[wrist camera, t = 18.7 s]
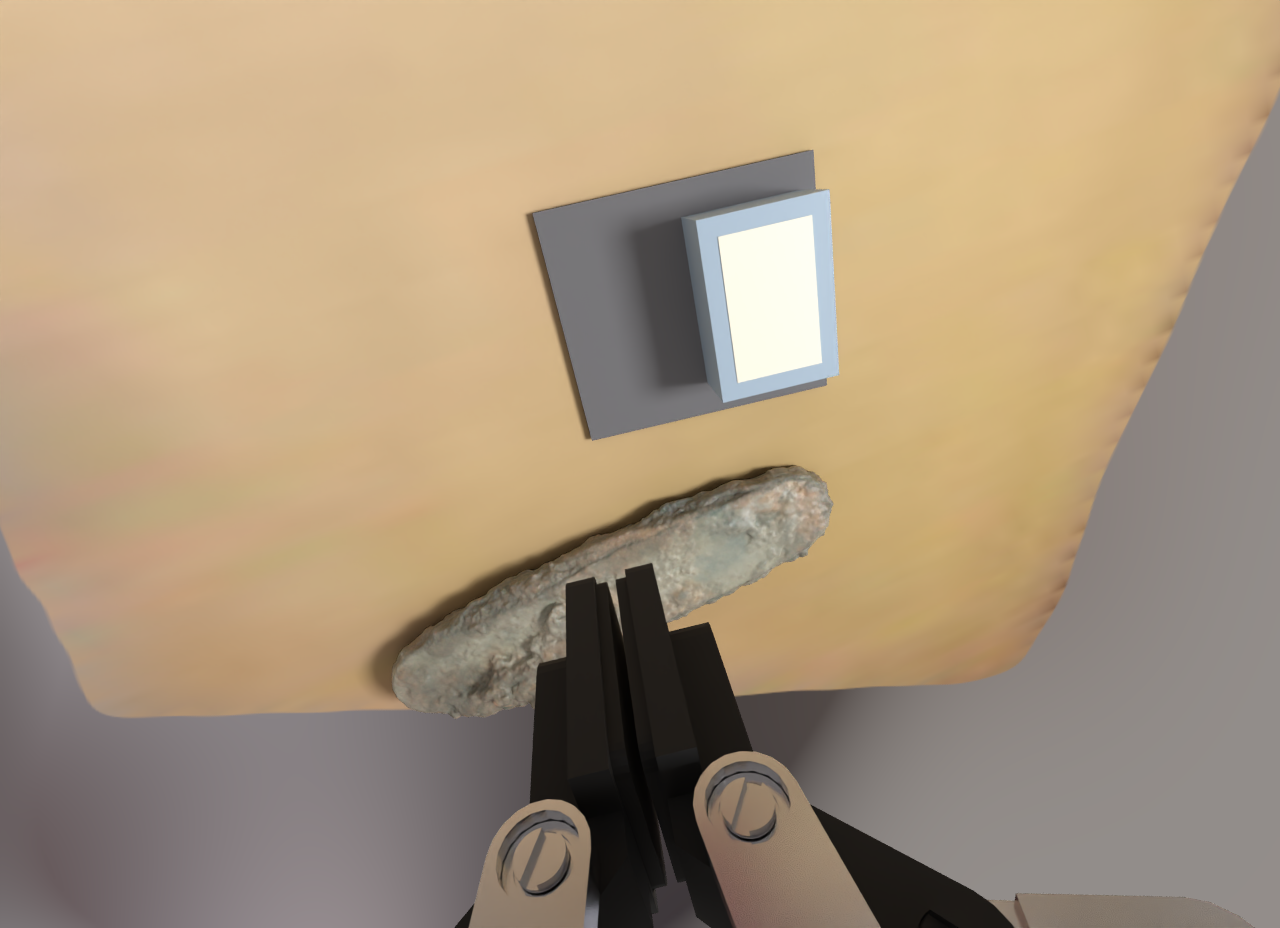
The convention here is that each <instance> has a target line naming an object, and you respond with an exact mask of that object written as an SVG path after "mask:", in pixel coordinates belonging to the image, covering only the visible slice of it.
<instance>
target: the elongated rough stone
mask: <svg viewBox="0 0 1280 928" xmlns="http://www.w3.org/2000/svg"><path fill="white" fill-rule="evenodd" d="M832 506H833V502H832V500H831V499H830V497H829V496H828V489H827V484H826V482H824V481H822V480H821V478H820V477H819V476H818V475H817V474H815V473H814V472H808V471H806V470H805V469H804V468H802V467H799V466H796V465H793V466H790V467H788V468H785V467H784V468H783V467H780V468H773V469H771V470H768V471H767V472H766V473H764V474H762V475H760V476H757V477H755V478H751V479H746V480H733V481H730V482H728V483H726V484H723V485H721V486H719V487H718V488H715V489H714V490H712V491H702V492H700V493H698V494H696V495H695V496H692V497H688V498H683V499H680V500H676V501H671V502H669V503H665V504H664V505H662V506H660V508H659V509H657V510H653V511H652V512H651V513H650V514H649V515H648V516H647V517H646V518H642V519H641V521H639V522H637V523H635V524H634V525H632V524H629V525H627V526H626V527H624V528H621V529H619V530H617V531H615V532H613V533H609V534H603V535H601V534H598V535H596V536H592V537H589V538H588V539H587V540H586V541H585V542H584V543H583V544H582V545H581V546H579V547H577V548H575V549H573V550H572V551H570V552H569V553H566V554H562V555H561V556H560V557H559V558H557V559H555V560H554V561H550V562H548V563H544V564H543V565H541V567H540V568H538V569H536V570H529V569H528V570H525V571H523V572H520V573H519V574H518V575H517V576H513V577H509V578H506V579H505V580H503V582H501V583H500V584H498V585H496V586H495V587H493V588H491V589H490V590H488V592H487V594H486V595H484V596H482V597H480V598H478V599H475V600H472V601H471V602H469V603H468V604H467V606H466V607H464V608H462V609H457V610H455V611H453V612H452V613H451V614H449V615H446V616H445V617H444V620H442V621H440V622H439V623H437V624H436V625H435V626H429V627H428V628H426V629H425V630H424V632H422V634H420V635H419V636H418V637H417V638H416V639H415V640H414V641H413V642H411V643H410V644H409V645H407V646H405V647H404V648H403V649H402V650H401V652H400V653H399V655H398V658H397V661H396V662H395V663H394V665H393V668H392V688H393V691H394V693H395V695H396V697H397V698H398V699H399V700H400V701H401V702H403V703H404V704H405V705H406V706H407V707H408V708H410V709H413V710H416V711H419V712H424V713H442V714H443V713H444V714H446V713H447V714H449V715H450V716H452V717H453V718H455V719H457V718H459V717H461V716H466V717H470V716H478V717H487V716H490V715H493V714H496V713H497V712H498V711H500V710H502V709H507V710H508V709H512V708H514V707H520V706H521V707H524V706H526V705H527V704H529V703H530V704H531V706H532V708H533V709H535V693H536V674H537V667H538V665H539V663H543V662H547V661H551V660H555V659H560V658H564V657H566V595H565V587H566V583H570V582H574V581H578V580H582V579H587V578H591V577H595V579H596V582H597V584H599V583H603V582H607V583H608V586H609V590H610V593H611V597H612V600H613V604H614V607H615V611H616V614H617V618H618V621H619V625H620V628H621V632H622V626H621V618H620V611H619V604H618V596H617V589H616V581H615V580H616V579H620V578H624V577H626V575H625V569H628V568H632V567H636V566H641V565H645V564H649V563H652V564H653V568H654V572H655V576H656V581H657V585H658V589H659V593H660V597H661V601H662V605H663V610H664V614H665V618H666V622H671V621H673V620H677V619H680V618H681V617H684V616H687V615H688V613H689V612H691V611H692V610H694V609H697V608H699V607H701V606H703V605H705V604H711V603H715V602H716V601H717V600H718V599H720V598H721V597H723V596H727V595H730V594H732V593H734V592H735V591H736V590H737V589H738V588H739V587H741V586H745V585H750V584H752V583H754V582H757V581H758V580H759V579H761V578H764V577H766V576H767V575H768V573H769V572H770V571H771V569H773V568H774V567H776V566H779V565H780V564H781V563H784V562H792V561H795V560H796V559H797V558H798V557H804V556H806V555H808V549H809V548H810V547H811V545H812V544H813V543H814V542H815V541H816V540H817V538H819V537H820V536H823V535H824V534H825V529H826V528H827V527H828V524H829V516H830V513H831V508H832ZM622 635H623V633H622Z"/></svg>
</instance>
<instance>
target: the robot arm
mask: <svg viewBox="0 0 1280 928" xmlns="http://www.w3.org/2000/svg"><path fill="white" fill-rule="evenodd" d="M625 575H626V577H624V578H620V579H616V580H615V581H616V589H617V596H618V604H619V611H620V618H621V626H622V632H621V628H620V625H619V621H618V618H617V614H616V611H615V607H614V604H613V600H612V597H611V593H610V590H609V586H608V583H607V582H603V583H599V584H597V582H596V579H595V577H591V578H587V579H582V580H578V581H574V582H570V583H566V587H565V595H566V657H564V658H560V659H555V660H551V661H547V662H543V663H539V665H538V667H537V674H536V693H535V714H534V733H533V752H532V771H531V791H530V804H529V805H528V806H526V807H524V808H522V809H521V810H519V811H517V812H516V813H515V814H514V815H513V816H512V817H510V818H509V819H508V820H507V821H506V822H505V823H504V824H503V826H502V827H501V829H500V830H499V831H498V833H497V834H496V836H495V837H494V839H493V840H492V843H491V845H490V848H489V851H488V853H487V856H486V859H485V863H484V867H483V872H482V876H481V880H480V884H479V888H478V892H477V896H476V900H475V903H474V905H473V906H472V907H471V908H470V910H469V911H468V912H467V913H466V914H465V916H464V917H463V918H462V919H461V920H460V922H459V923H458V924H457V925H456V926H455V928H653V920H652V914H654V913H658V906H657V898H656V890H655V888H659V887H663V886H667V878H666V871H665V864H664V857H663V851H662V844H661V838H660V831H659V825H658V820H659V824H660V827H661V830H662V833H663V837H664V840H665V843H666V847H667V850H668V853H669V856H670V860H671V863H672V866H673V869H674V873H675V876H676V879H677V882H683V881H686V883H687V886H688V890H689V893H690V896H691V900H692V903H693V907H694V910H695V913H696V916H697V918H699V919H700V920H701V921H703V922H704V923H706V924H707V925H708V926H709V927H711V928H1255V927H1253V926H1252V925H1251V924H1249V923H1248V922H1246V921H1245V920H1244V919H1242V918H1241V917H1240V916H1238V915H1236V914H1234V913H1232V912H1230V911H1228V910H1226V909H1223V908H1221V907H1219V906H1217V905H1215V904H1213V903H1211V902H1207V901H1201V900H1197V899H1191V898H1186V897H1162V896H1159V897H1158V896H1117V895H1114V896H1113V895H1072V894H1071V895H1069V894H1028V893H1023V894H1022V893H1016V895H1015V901H1006V900H986V899H984V898H983V897H982V896H980V895H979V894H977V893H976V892H974V891H973V890H971V889H969V888H967V887H965V886H963V885H962V884H960V883H958V882H956V881H954V880H952V879H950V878H948V877H946V876H945V875H942V874H941V873H939V872H937V871H935V870H933V869H931V868H929V867H928V866H925V865H924V864H922V863H920V862H918V861H916V860H914V859H912V858H910V857H909V856H907V855H905V854H903V853H901V852H899V851H897V850H895V849H893V848H892V847H890V846H888V845H886V844H884V843H882V842H880V841H878V840H876V839H874V838H873V837H871V836H869V835H867V834H865V833H863V832H861V831H859V830H857V829H855V828H854V827H852V826H850V825H848V824H846V823H844V822H842V821H840V820H839V819H837V818H835V817H833V816H831V815H829V814H827V813H825V812H823V811H822V810H820V809H817V808H816V807H814V806H812V805H810V804H809V802H808V800H807V799H806V797H805V795H804V794H803V792H802V790H801V788H800V787H799V785H798V783H797V781H796V780H795V778H794V777H793V776H792V775H791V773H790V772H789V771H788V770H787V768H786V767H785V766H784V765H782V764H781V763H779V762H778V761H776V760H775V759H773V758H772V757H770V756H766V755H764V754H761V753H758V752H753V750H752V747H751V744H750V741H749V738H748V735H747V732H746V729H745V726H744V723H743V721H742V718H741V715H740V712H739V709H738V706H737V703H736V700H735V697H734V694H733V691H732V688H731V685H730V682H729V679H728V676H727V673H726V670H725V668H724V665H723V662H722V659H721V656H720V653H719V650H718V647H717V644H716V641H715V638H714V635H713V632H712V629H711V627H710V624H709V622H707V623H703V624H699V625H695V626H691V627H687V628H683V629H679V630H674V631H670V632H669V630H668V626H667V622H666V618H665V614H664V610H663V605H662V601H661V597H660V593H659V589H658V585H657V581H656V576H655V572H654V568H653V564H652V563H649V564H645V565H641V566H636V567H632V568H628V569H625ZM622 633H623V635H622ZM657 817H658V818H657Z"/></svg>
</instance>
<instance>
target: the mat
mask: <svg viewBox="0 0 1280 928" xmlns="http://www.w3.org/2000/svg"><path fill="white" fill-rule="evenodd" d="M796 190H816V187H815V170H814V152H813V150H810V151H806V152H801V153H797V154H792V155H788V156H783V157H779V158H775V159H770V160H766V161H761V162H757V163H752V164H748V165H744V166H739V167H735V168H730V169H726V170H721V171H717V172H713V173H708V174H704V175H699V176H695V177H690V178H686V179H682V180H677V181H673V182H668V183H664V184H659V185H655V186H651V187H646V188H642V189H637V190H633V191H628V192H624V193H620V194H615V195H611V196H606V197H602V198H597V199H593V200H588V201H584V202H580V203H575V204H571V205H566V206H562V207H557V208H553V209H549V210H544V211H540V212H535V213H532V214H533V217H534V221H535V225H536V229H537V233H538V236H539V240H540V244H541V248H542V252H543V256H544V259H545V263H546V267H547V271H548V275H549V278H550V282H551V286H552V290H553V294H554V298H555V301H556V305H557V309H558V313H559V317H560V321H561V324H562V328H563V332H564V336H565V340H566V343H567V347H568V351H569V355H570V359H571V363H572V366H573V370H574V374H575V378H576V382H577V385H578V389H579V393H580V397H581V401H582V405H583V408H584V412H585V416H586V420H587V424H588V427H589V431H590V435H591V439H592V441H593V440H597V439H601V438H606V437H610V436H614V435H618V434H623V433H627V432H631V431H635V430H640V429H644V428H648V427H652V426H657V425H661V424H665V423H669V422H673V421H678V420H682V419H686V418H690V417H695V416H699V415H703V414H707V413H712V412H716V411H720V410H724V409H729V408H733V407H737V406H741V405H745V404H750V403H754V402H758V401H762V400H767V399H771V398H775V397H779V396H784V395H788V394H792V393H796V392H801V391H805V390H809V389H813V388H817V387H822V386H826V385H827V379H826V378H824V379H820V380H816V381H812V382H808V383H804V384H799V385H795V386H791V387H787V388H783V389H779V390H774V391H770V392H766V393H762V394H758V395H754V396H750V397H745V398H741V399H737V400H733V401H729V402H725V403H723V402H722V401H721V399H720V398H719V397H718V395H717V394H716V393H715V391H714V390H713V389H712V388H711V386H710V385H709V384H708V382H707V376H706V370H705V364H704V357H703V351H702V345H701V339H700V332H699V326H698V320H697V314H696V308H695V301H694V295H693V289H692V283H691V276H690V270H689V264H688V258H687V252H686V245H685V239H684V233H683V227H682V220H681V217H685V216H689V215H694V214H698V213H702V212H706V211H711V210H715V209H719V208H724V207H728V206H732V205H736V204H741V203H745V202H749V201H753V200H758V199H762V198H766V197H771V196H775V195H779V194H783V193H788V192H792V191H796Z"/></svg>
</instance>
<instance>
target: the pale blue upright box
mask: <svg viewBox="0 0 1280 928" xmlns="http://www.w3.org/2000/svg"><path fill="white" fill-rule="evenodd" d="M681 220H682V227H683V233H684V239H685V245H686V252H687V258H688V264H689V270H690V276H691V283H692V289H693V295H694V301H695V308H696V314H697V320H698V326H699V332H700V339H701V345H702V351H703V357H704V364H705V370H706V376H707V382H708V384H709V385H710V386H711V388H712V389H713V390H714V391H715V393H716V394H717V395H718V397H719V398H720V399H721V401H722V402H723V403H725V402H729V401H733V400H737V399H741V398H745V397H750V396H754V395H758V394H762V393H766V392H770V391H774V390H779V389H783V388H787V387H791V386H795V385H799V384H804V383H808V382H812V381H816V380H820V379H824V378H828V377H833V376H837V375H839V363H838V344H837V325H836V306H835V287H834V268H833V249H832V230H831V211H830V192H829V189H821V190H796V191H792V192H788V193H783V194H779V195H775V196H771V197H766V198H762V199H758V200H753V201H749V202H745V203H741V204H736V205H732V206H728V207H724V208H719V209H715V210H711V211H706V212H702V213H698V214H694V215H689V216H685V217H681Z"/></svg>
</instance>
